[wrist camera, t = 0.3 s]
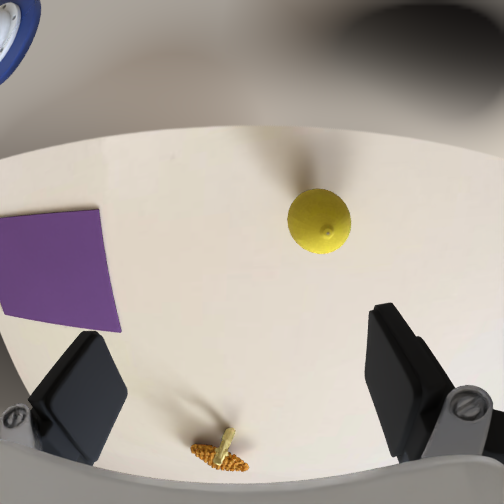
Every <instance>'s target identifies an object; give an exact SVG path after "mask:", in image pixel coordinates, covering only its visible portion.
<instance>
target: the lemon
mask: <svg viewBox="0 0 504 504" xmlns="http://www.w3.org/2000/svg"><path fill="white" fill-rule="evenodd" d="M287 220H288V228H289V230H290V233H291V236H292V237H293V239H294V240H295V241H296V243H297V244H299V245H300V246H301V247H302V248H303V249H305V250H308V251H310V252H312V253H317V254H325V253H329V252H333V251H335V250H336V249H338V248H340V247H341V246H342V245H343V244H344V243H345V241H346V239H347V238H348V236H349V233H350V230H351V218H350V213H349V210H348V208H347V206H346V204H345V203H344V202H343V200H342V199H341V198H340V197H339V196H337V195H336V194H334V193H333V192H331V191H328V190H325V189H312V190H308V191H306V192H303V193H301V194H300V195H299V196H298V197H296V199H295V200H294V201H293V203H292V204H291V206H290V209H289V212H288V219H287Z"/></svg>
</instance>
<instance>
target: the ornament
mask: <svg viewBox="0 0 504 504" xmlns="http://www.w3.org/2000/svg"><path fill="white" fill-rule="evenodd" d="M234 434H235V430H234V428H228V429H226V431H225V433H224V435H223V437H222V442H221V444H220V446H219V448H217V447H212V445H208V446H207V445H197V444H194V445H192V446H191V448H190V449H191V451H192V452H191V453H194V454H195V453H196V454H195V456H197V457H199V458H200V459H201V460H203V459H204V460H203V461H204V462H205V463H207V462H208V465H210V466H212V468H215V467H216V469H217V470H219V469H221V470H224V469H225V470H226V471H229V469H230V471H234V470H236V471H240V470H241V472H243V471H246V470H248V469H249V466H248V464H247V463H244V461H243V460H241V459H240V458H239V457H236V455H235V454H233V455H232V456H231V453H230V452H228V448H229V446H230V444H231V441H232V439H233V437H234ZM234 460H235V461H234ZM220 467H221V468H220Z"/></svg>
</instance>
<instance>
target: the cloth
mask: <svg viewBox="0 0 504 504" xmlns="http://www.w3.org/2000/svg"><path fill="white" fill-rule="evenodd" d="M0 303H1V306H2V308H3V311H4V314H5V315H9V316H14V317H19V318H24V319H30V320H35V321H41V322H47V323H53V324H59V325H65V326H72V327H79V328H86V329H94V330H101V331H110V332H119V333H121V328H120V324H119V319H118V315H117V311H116V307H115V302H114V298H113V293H112V288H111V283H110V278H109V273H108V268H107V262H106V256H105V250H104V244H103V237H102V230H101V223H100V215H99V209H97V210H82V211H69V212H56V213H44V214H33V215H23V216H13V217H4V218H0Z"/></svg>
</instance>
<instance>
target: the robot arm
mask: <svg viewBox="0 0 504 504" xmlns="http://www.w3.org/2000/svg"><path fill="white" fill-rule="evenodd" d="M20 19H21V11H20V8H19V6H18V5H17V4H15V3H11V2H9V3H5V4H3V5H1V6H0V61H1V60H2V59H3V58H4V56H5V55H6V53H7V52H8V50H9V48H10V47H11V45H12V43H13V41H14V39H15V37H16V34H17V31H18V28H19V25H20ZM365 380H366V384H367V386H368V389H369V392H370V395H371V397H372V400H373V403H374V406H375V409H376V412H377V415H378V417H379V420H380V423H381V426H382V429H383V432H384V435H385V438H386V441H387V444H388V448H389V451H390V454H391V456H392V457H396V456H397V458H398V461H399V464H395V465H391V466H386V467H381V468H376V469H371V470H367V471H362V472H356V473H351V474H345V475H339V476H332V477H325V478H317V479H309V480H300V481H290V482H276V483H254V484H223V483H199V482H186V481H175V480H166V479H158V478H151V477H144V476H138V475H132V474H126V473H121V472H116V471H111V470H107V469H102V468H98V467H94V466H93V464H94V462H96V461H97V460H98V458H99V456H100V454H101V451H102V449H103V447H104V445H105V443H106V440H107V438H108V436H109V434H110V432H111V429H112V427H113V425H114V423H115V421H116V419H117V417H118V414H119V412H120V410H121V408H122V406H123V404H124V402H125V400H126V398H127V394H128V393H127V388H126V386H125V384H124V382H123V380H122V378H121V376H120V374H119V371H118V369H117V367H116V365H115V363H114V361H113V359H112V357H111V354H110V352H109V350H108V348H107V345H106V343H105V341H104V339H103V337H102V336H101V335H99V333H98V332H96V331H83V332H81V333H80V334H79V336H78V337H77V338H76V339H75V340H74V342H73V343H72V344H71V345H70V346H69V348H68V349H67V350H66V351H65V352H64V354H63V355H62V356H61V357H60V359H59V360H58V361H57V362H56V364H55V365H54V366H53V367H52V369H51V370H50V371H49V372H48V374H47V375H46V376H45V377H44V379H43V380H42V381H41V383H40V384H39V385H38V387H37V388H36V389H35V390H34V392H33V393H32V394H31V396H30V397H29V398H28V401H29V402H30V403H31V405H32V407H33V408H32V409H31V410H30V409H29V407H28V406H27V405H25V404H19V403H18V404H15V405H12V406H10V407H9V408H8V409H6V410H5V411H4V413H3V414H2V416H1V418H0V504H504V412H502V411H498V410H494V409H493V402H492V399H491V397H490V396H489V394H488V393H487V392H486V391H485V390H483V389H482V388H479V387H476V386H471V385H465V386H459V387H457V388H455V387H454V385H453V384H452V382H451V381H450V379H449V377H448V376H447V374H446V373H445V371H444V370H443V368H442V367H441V365H440V364H439V362H438V361H437V359H436V358H435V356H434V355H433V353H432V352H431V350H430V349H429V347H428V346H427V344H426V343H425V342H424V340H423V339H422V338H421V337H419V336H417V337H416V336H415V334H414V333H413V331H412V330H411V329H410V327H409V326H408V324H407V323H406V321H405V320H404V319H403V317H402V316H401V314H400V313H399V311H398V310H397V309H396V307H395V306H394V305H393V303H385V304H380V305H375V307H374V310H371V311H369V320H368V337H367V351H366V362H365Z"/></svg>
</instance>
